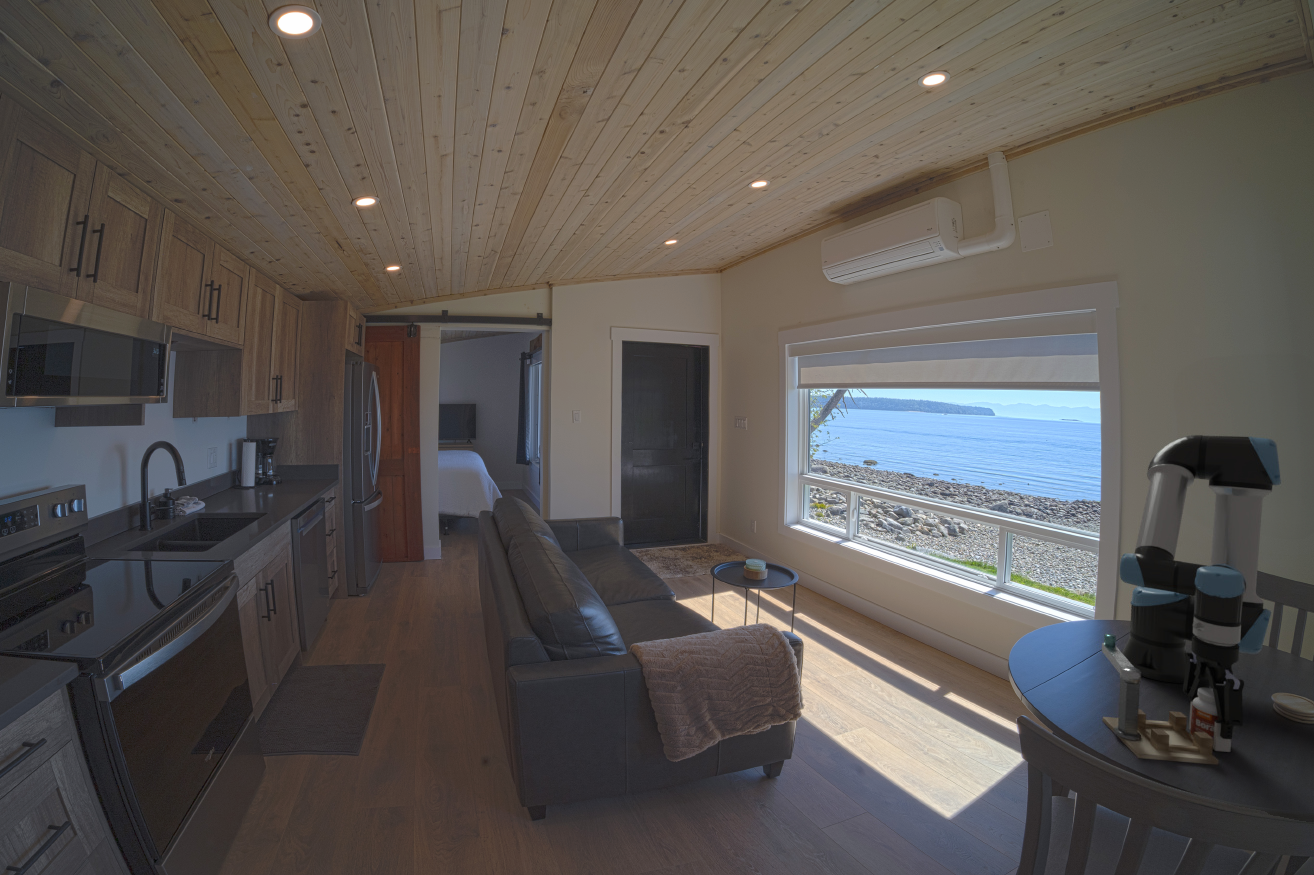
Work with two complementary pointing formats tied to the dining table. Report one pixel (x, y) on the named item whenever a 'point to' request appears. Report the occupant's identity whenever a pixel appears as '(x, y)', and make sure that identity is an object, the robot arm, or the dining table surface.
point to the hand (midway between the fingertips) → (1208, 739)
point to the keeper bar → (1120, 660)
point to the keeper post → (1128, 711)
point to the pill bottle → (1204, 712)
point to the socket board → (1162, 755)
